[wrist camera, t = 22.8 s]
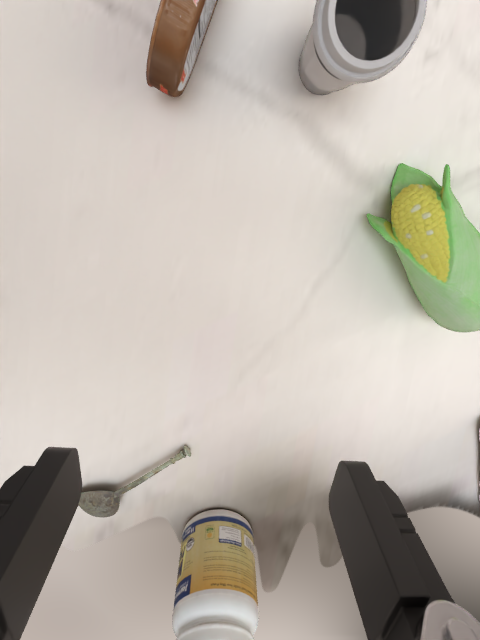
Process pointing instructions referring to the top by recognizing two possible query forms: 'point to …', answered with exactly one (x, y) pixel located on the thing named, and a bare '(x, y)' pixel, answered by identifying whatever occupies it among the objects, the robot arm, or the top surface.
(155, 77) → the tin
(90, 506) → the soupspoon
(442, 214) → the corn
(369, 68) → the cup
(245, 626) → the supplement tub
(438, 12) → the top surface
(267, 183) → the top surface
